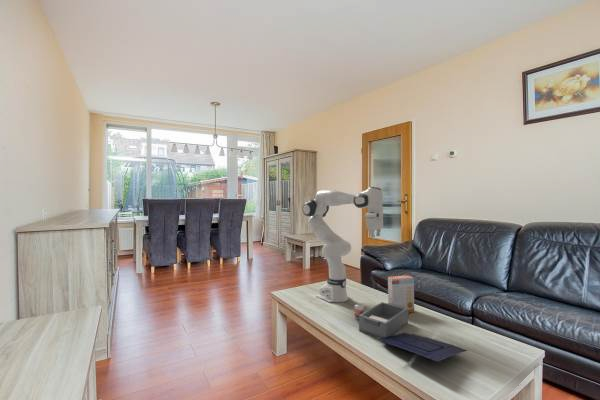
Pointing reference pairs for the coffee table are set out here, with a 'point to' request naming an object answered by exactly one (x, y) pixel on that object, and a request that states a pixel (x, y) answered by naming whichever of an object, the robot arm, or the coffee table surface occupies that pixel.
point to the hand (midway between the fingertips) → (375, 237)
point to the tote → (381, 329)
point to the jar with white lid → (358, 310)
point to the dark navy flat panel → (423, 346)
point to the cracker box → (401, 291)
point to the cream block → (378, 318)
